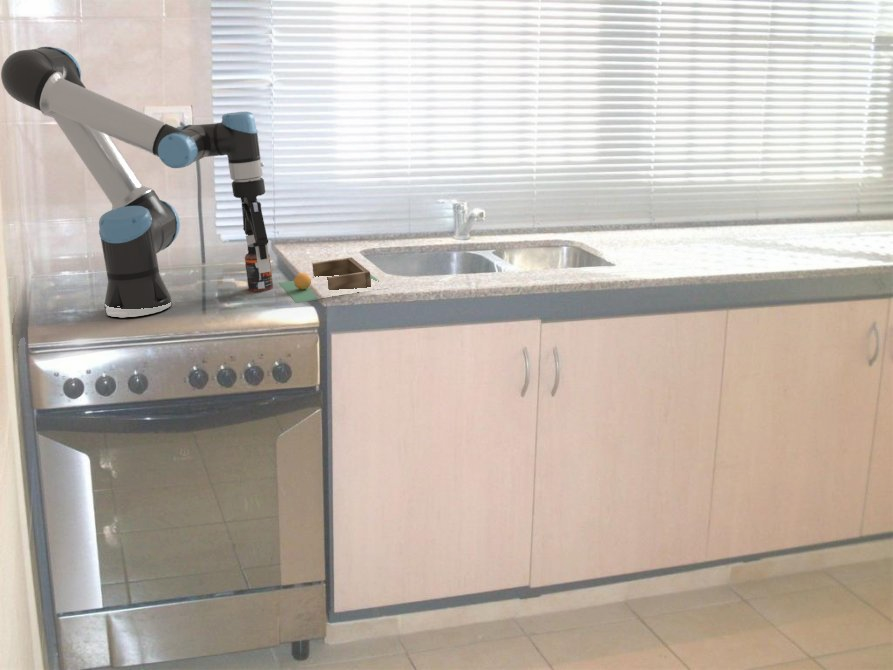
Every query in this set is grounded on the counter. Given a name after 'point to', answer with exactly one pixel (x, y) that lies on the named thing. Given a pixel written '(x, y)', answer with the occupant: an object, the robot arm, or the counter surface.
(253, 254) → the supplement bottle
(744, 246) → the counter surface
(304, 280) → the ball
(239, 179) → the robot arm
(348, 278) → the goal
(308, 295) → the pitch mat
